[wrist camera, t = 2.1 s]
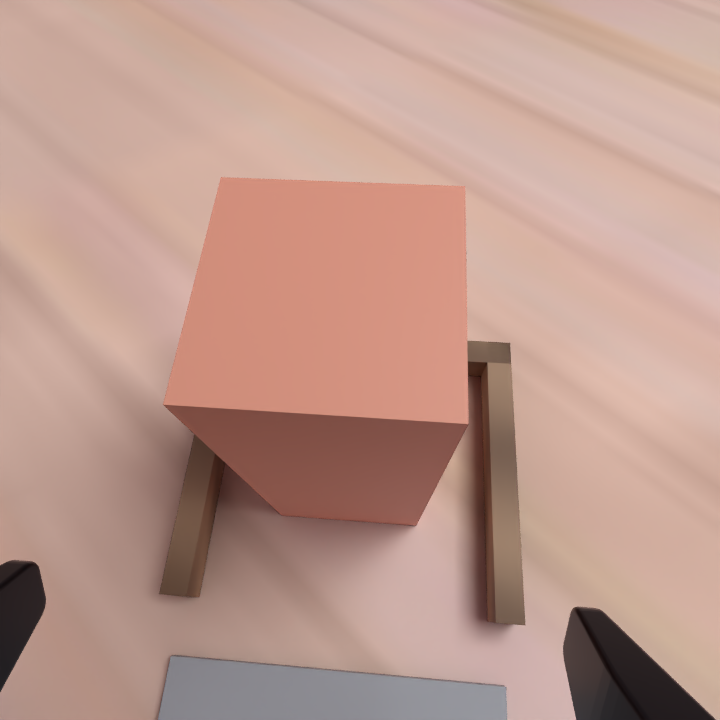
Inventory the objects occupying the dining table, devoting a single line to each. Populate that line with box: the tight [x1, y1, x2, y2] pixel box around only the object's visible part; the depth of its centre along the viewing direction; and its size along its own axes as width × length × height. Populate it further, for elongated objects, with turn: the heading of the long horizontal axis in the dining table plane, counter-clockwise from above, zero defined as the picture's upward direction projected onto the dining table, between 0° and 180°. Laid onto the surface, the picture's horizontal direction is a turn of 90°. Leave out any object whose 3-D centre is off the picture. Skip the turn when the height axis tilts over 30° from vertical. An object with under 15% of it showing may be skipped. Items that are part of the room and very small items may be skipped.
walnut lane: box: [159, 341, 525, 625], centre depth 21 cm, size 11×13×2 cm
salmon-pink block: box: [163, 177, 469, 526], centre depth 16 cm, size 6×6×13 cm
